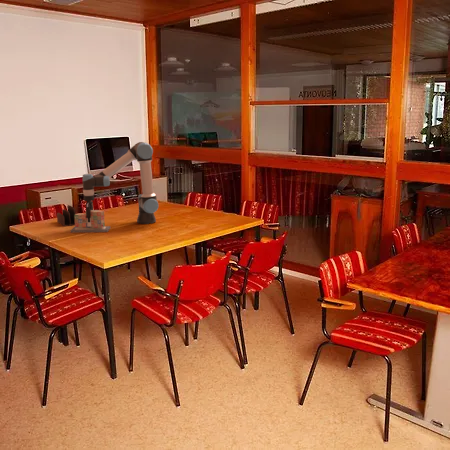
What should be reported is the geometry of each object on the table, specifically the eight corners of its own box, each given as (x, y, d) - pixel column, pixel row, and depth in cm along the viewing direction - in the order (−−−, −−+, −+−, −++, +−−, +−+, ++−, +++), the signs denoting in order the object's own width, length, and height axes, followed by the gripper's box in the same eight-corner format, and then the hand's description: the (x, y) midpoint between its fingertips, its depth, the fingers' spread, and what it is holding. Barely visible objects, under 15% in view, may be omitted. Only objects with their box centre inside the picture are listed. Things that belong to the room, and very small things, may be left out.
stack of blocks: (74, 226, 370) (73, 210, 367) (78, 225, 376) (77, 209, 373) (101, 228, 367) (100, 211, 364) (105, 226, 373) (104, 210, 370)
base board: (110, 228, 379) (110, 225, 378) (107, 232, 366) (107, 229, 366) (74, 228, 377) (74, 226, 377) (70, 232, 365) (70, 230, 364)
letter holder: (69, 220, 405) (68, 204, 402) (76, 225, 389) (75, 207, 386) (57, 222, 400) (55, 205, 397) (64, 226, 384) (62, 209, 381)
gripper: (86, 192, 375) (88, 222, 380) (80, 197, 356) (82, 228, 361) (96, 192, 376) (98, 222, 381) (91, 197, 356) (92, 228, 361)
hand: (90, 225), depth 371 cm, fingers closed on stack of blocks, 7 cm apart
